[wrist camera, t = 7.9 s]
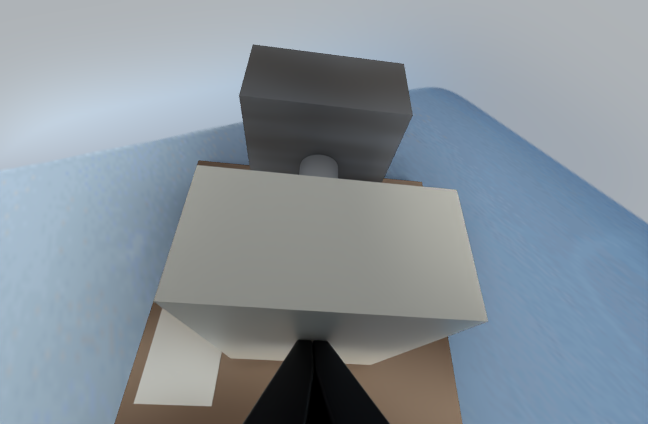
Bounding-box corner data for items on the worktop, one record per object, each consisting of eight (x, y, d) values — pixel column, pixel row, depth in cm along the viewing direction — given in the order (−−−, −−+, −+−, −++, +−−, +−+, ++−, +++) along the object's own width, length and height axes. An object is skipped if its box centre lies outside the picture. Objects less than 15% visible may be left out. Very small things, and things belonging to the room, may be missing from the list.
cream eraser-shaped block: (370, 365, 13) (488, 321, 6) (230, 358, 13) (152, 301, 5) (364, 224, 17) (431, 82, 9) (255, 215, 17) (231, 58, 9)
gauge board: (462, 531, 12) (798, 783, 4) (98, 530, 11) (-371, 867, 3) (413, 195, 21) (494, 68, 13) (203, 175, 20) (149, 23, 12)
